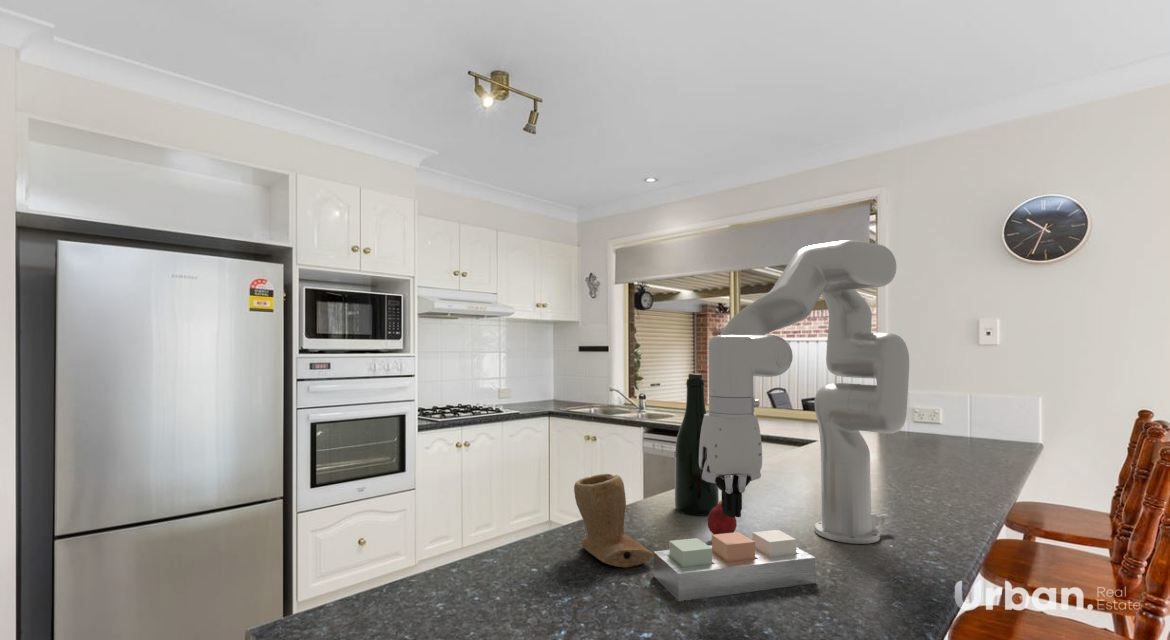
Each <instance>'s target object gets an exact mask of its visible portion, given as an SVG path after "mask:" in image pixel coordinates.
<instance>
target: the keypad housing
mask: <svg viewBox="0 0 1170 640" xmlns="http://www.w3.org/2000/svg"><path fill="white" fill-rule="evenodd" d="M708 546H709V547H711V548H712V544H711V545H708ZM652 553H653V555H654V557H653V577H654V579H656V580H657V581H658V582H659V584H660V585H662V586H663V587H664V588H665V589H666V590H667V591H668V592H669V593H670V594H671V595H672V596H673V598H675V599H676V601H678V602H684V600H686V601H692V599H693V600H700V599H706V598H707V599H708V598H714V597H723V596H729V595H738V594H744V593H752V592H753V593H754V592H759V591H766V590H774V589H780V588H781V589H783V588H788V587H789V588H790V587H798V586H804V585H805V586H806V585H813V584H816V583H817V573H816V572H817V571H816V570H817V569H816V557H815V556H813V555H812V554H810V553H808V552H806V551H804V550H803V549H801V548H799V547H797V546H796V553H797V555H788V556H780V557H771V558H769V557H767V556H766V555H764V554H762V553H761V552H759V551H757V550H756V549H755V559H754V560H746V561H737V562H729V563H726V562H725V561H723V560H722V559H721V558H719V557H718V556H716V555H715V554H714V553H712V564H711V565H703V566H694V567H686V568H681V567H680V566H679V565H678V564H676V563H675V562H674V561H673V560H672V559H671V558H669V549H665V550H657V551H656V550H653V552H652Z"/></svg>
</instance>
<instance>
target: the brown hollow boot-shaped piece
mask: <svg viewBox="0 0 1170 640" xmlns="http://www.w3.org/2000/svg"><path fill="white" fill-rule="evenodd" d="M573 493H574V498H575V504H576V506H577V508H578V511H579V513H580V516H581V517H582V520H583V523H584V526H585V529H586V533H587V536H586V537H584V538H582V539H581V545H582V547H583V548H584V550H585V551H587V552H588V553H589V554H590V555H592V556H593V557H595V558H596V559H597V560H599V561H600V562H602V563H604V564H607V565H609V566H614V567H618V568H631V567H635V566H639V565H642V564H645V563H647V562H650V560H652V559H654V555H653V552H652V551H651V550H649V549H648V548H646V547H645V546H644V545H642V544H641V543H639V542H638V541H636V540H634V539H633V538H632V537H630V536H629V535H626V533H625V525H624V524H625V517H626V516H625V515H626V506H627V501H626V499H627V498H626V491H625V484H624V480H623V478H622V477H621V476H620V475H619V474H615V475H613V474H611V473H603V474H602V473H601V474H595V475H592V476H586V477H582V478H579V479H578V480H577V481H575V483H574V487H573Z"/></svg>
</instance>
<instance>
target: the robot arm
mask: <svg viewBox="0 0 1170 640" xmlns="http://www.w3.org/2000/svg"><path fill="white" fill-rule="evenodd" d="M896 273H897V260H896V258H895V255H894V253H893V251H892V250H890V249H889V248H888V247H887V246H886V245H884V244H877V243H871V242H867V241H861V240H849V239H847V240H846V239H845V240H838V241H830V242H824V243H817V244H812V245H810V244H809V245H808V246H804V247H802V248H800V249H798V250H797V251H796V252H795V253H794V255H793V256H792V258H790V260H789V261H788V264H787V265H786V266H785V268H784V270H783V271H782V273H781V274H780V276H779V277H778V279H777V281H776V282H775V284H774V285H773V287H772V288H771V289H770V291H768V292H767V293H765V294H764V295H761V297H759V298H757V299H755V300H754V301H752V302H751V303H750V304H749V305H747V306H746V307H744V308H742V309H741V310H740V311H738V312H737V313H736V314H735V315H733V317H732V318H730V320H729V321H728V322H727V324H726V325H725V327H724V328H723V329H722V331H721V332H720V334H718V335H714V336H712V337H711V338H710V339H709V341H708V351H707V352H708V360H707V361H708V413H707V414H704V418H703V422H702V427H701V434H700V445H699V467H700V469H702V470H703V473H702V480H704V481H706V482H711V483H715V484H716V485H717V486H718V488H719V490H720V491H721V500H722V510H723V513H724V514H726V515H727V516H729V517H731V518H741V517H742V516H741V515H742V510H743V493H745V491H746V487H748V485H749V484H750V482H753V481H756V480H759V479H760V478H761V477H762V473H761V470H762V467H763V447H762V446H763V445H762V443H763V442H762V436H761V435H762V434H761V429H760V424H759V419H758V415H756V414H755V408H759V407H760V401H759V399H756V398H755V396H754V395H755V394H754V389H755V388H754V385H755V384H754V377H759V378H760V377H765V378H773V377H778V376H781V375H783V374H784V373H786V372H787V371H788V370H789V369H790V368H791V365H792V361H793V357H794V356H793V349H792V347H791V346H790V344H789V343H788V342H787V340H785V339H784V338H782V337H781V336H778V335H774V334H770V333H772V332H774V331H778V330H780V329H783V328H787V327H789V326H792V325H795V324H796V323H797V324H798V323H799V322H801V321H803V320H805V319H807V318H808V317H809V316H810V314H812V311H813V309H814V307H815V306H816V304H817V303H818V301H819V300H820V297H821V296H822V298H823V300H824V303H825V304H826V307H827V310H828V327H827V328H828V329H827V340H826V342H827V343H826V355H825V361H826V367H827V369H828V371H829V373H831V374H833V376H836V377H841V378H851V379H853V378H854V379H870V380H871V379H875V380H876V384H861V383H845V382H842V383H841V382H840V383H839V382H838V383H836V382H835V383H828V384H825V385H824V386H822V387H820V388H819V389H818V391H817V392H816V394H815V396H814V411H815V416H816V421H817V426H818V431H819V432H818V433H819V442H820V445H819V446H820V482H821V484H820V486H821V487H820V488H821V494H820V496H821V520H820V521H817V522H816V523H814V524H813V527H814V528H813V529H814V532H815V533H816V535H819V536H821V537H822V538H825V539H828V540H831V541H834V542H835V541H836V542H839V543H845V544H852V545H854V544H856V545H859V544H860V545H865V544H867V545H870V544H875V543H877V542H879V541H880V540H881V532H880V530H878V528H877V526H879V525H885V524H886V525H887V524H890V523H891V516H890V515H889V514H887V513H884V514H883V513H882V514H876V513H875V512H872V482H871V453H870V449H869V445H868V443H867V442H866V439H865V438H864V437H863V435H862V434H861V432H860V431H862V432H869V433H876V434H877V433H878V434H894V433H898V432H899V431H901V430H902V429H903V427H904V425H905V423H906V418H907V413H908V412H907V411H908V401H909V400H908V398H909V397H908V396H909V394H908V393H909V380H910V379H909V377H910V354H909V349H908V346H907V344H906V341H904V339H903V338H902V337H901V336H899V335H898V334H895V333H892V332H872V319H873V318H872V317H873V313H872V309H871V307H870V305H869V303H868V302H867V301H866V299H865V298H864V297H863V296H862V295H861V294H860V293H859V292H858V291H857V290H859V289H860V290H861V289H872V288H875V289H876V288H881V287H885V286H887V285H889V284H890V283H892V281H893V280H894V278H895V276H896ZM716 475H717V476H716Z"/></svg>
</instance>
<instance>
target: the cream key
mask: <svg viewBox="0 0 1170 640" xmlns="http://www.w3.org/2000/svg"><path fill="white" fill-rule="evenodd" d="M752 540H753V541H754V542H755V549H756V550H757V551H759V552H761V553H762V554H764V555H766V556H767V557H769V558H771V557H780V556H788V555H797V553H796V547H797V539H796V538H794V536H793V537H792V536H791V535H789V534H787V533H785V532H783V531H781V530H779V529H774V530H773V529H772V530H763V531H754V532H753V531H752Z"/></svg>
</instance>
